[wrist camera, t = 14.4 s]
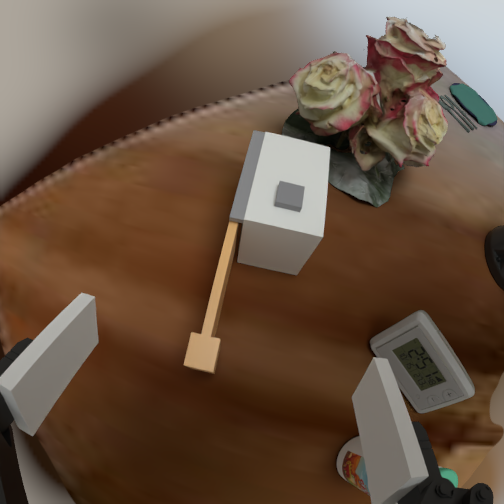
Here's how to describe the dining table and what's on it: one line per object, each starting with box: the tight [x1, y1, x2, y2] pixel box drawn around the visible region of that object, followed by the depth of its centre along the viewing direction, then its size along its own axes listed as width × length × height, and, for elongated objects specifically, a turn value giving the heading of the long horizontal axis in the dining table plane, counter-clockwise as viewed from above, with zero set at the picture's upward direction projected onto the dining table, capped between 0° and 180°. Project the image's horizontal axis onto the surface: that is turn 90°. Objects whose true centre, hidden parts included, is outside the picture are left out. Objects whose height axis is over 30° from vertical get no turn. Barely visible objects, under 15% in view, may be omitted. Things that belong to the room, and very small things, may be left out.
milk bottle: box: [337, 436, 458, 504], centre depth 27 cm, size 8×8×20 cm
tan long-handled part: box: [184, 221, 239, 374], centre depth 37 cm, size 18×3×10 cm, turn 169°
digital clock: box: [370, 310, 475, 413], centre depth 38 cm, size 16×9×11 cm, turn 24°
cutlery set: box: [438, 83, 498, 132], centre depth 74 cm, size 20×30×2 cm, turn 121°
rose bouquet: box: [282, 17, 448, 207], centre depth 45 cm, size 26×29×30 cm
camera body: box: [229, 130, 330, 275], centre depth 43 cm, size 15×11×14 cm
